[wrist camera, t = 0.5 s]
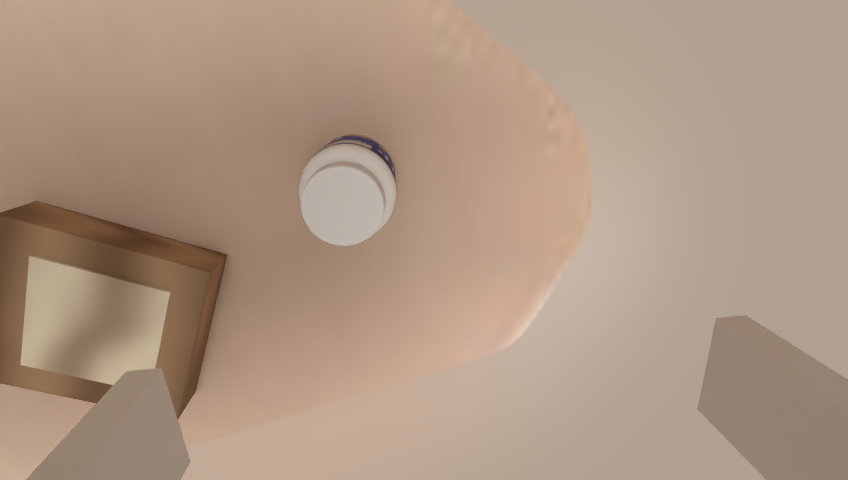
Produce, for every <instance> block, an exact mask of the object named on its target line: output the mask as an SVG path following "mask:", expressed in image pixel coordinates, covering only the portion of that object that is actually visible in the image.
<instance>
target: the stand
mask: <svg viewBox="0 0 848 480" xmlns="http://www.w3.org/2000/svg"><path fill="white" fill-rule="evenodd" d="M226 257H227V255H225V254H222V253H218V252H215V251H211V250H207V249H204V248H200V247H197V246H193V245H190V244H186V243H183V242H179V241H176V240H172V239H168V238H165V237H161V236H158V235H154V234H151V233H147V232H144V231H140V230H136V229H133V228H129V227H126V226H122V225H119V224H115V223H112V222H108V221H104V220H101V219H97V218H94V217H90V216H87V215H83V214H80V213H76V212H72V211H69V210H65V209H62V208H58V207H55V206H51V205H48V204H44V203H41V202H37V201H36V202H32V203H29V204H26V205H23V206H20V207H17V208H14V209H11V210H7V211H4V212H1V213H0V383H1V384H6V385H11V386H16V387H21V388H25V389H30V390H35V391H40V392H45V393H50V394H54V395H59V396H64V397H69V398H74V399H78V400H83V401H88V402H93V403H97V402H98V401H99V400H100V399H101V398H102V397H103V396H104V395H105V394H106V393H107V392H108V390H109V389H110V388H111V387H112V386H113V385H114V384H115V383H116V382H117V381H118V380H119V379H120V378H121V376H122V375H123V374H124V373H125V372H126V371H133V370H144V369H155V368H162V371H163V374H164V378H165V381H166V384H167V387H168V391H169V394H170V397H171V400H172V404H173V407H174V410H175V413H176V416H177V420H178V418H179V417H180V415H181V414H182V412H183V410H184V409H185V407H186V406H187V404H188V403H189V401H190V399H191V398H192V396H193V395H194V393H195V391H196V387H197V382H198V378H199V374H200V369H201V365H202V361H203V356H204V352H205V348H206V343H207V339H208V335H209V330H210V326H211V322H212V317H213V313H214V309H215V304H216V300H217V296H218V291H219V287H220V283H221V278H222V274H223V270H224V265H225V261H226Z"/></svg>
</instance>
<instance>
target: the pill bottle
mask: <svg viewBox="0 0 848 480" xmlns="http://www.w3.org/2000/svg"><path fill="white" fill-rule="evenodd" d="M298 193H299V202H300V205H301V213H302V216H303V219H304V221H305V223H306V225H307V227H308V228H309V229H310V231H311V232H312V233H313V234H314V235H315V236H317V237H318V238H319V239H321V240H323V241H325V242H327V243H329V244H332V245H337V246H350V245H355V244H358V243H361V242H363V241H365V240H367V239H368V238H370V237H371V236H372V235H373V234H375V233H376V232H377V231H379V230H380V229H381V228H382V227H383V226H384V225H385V224H386V223H387V222H388V220H389V219H390V217H391V215H392V213H393V210H394V207H395V203H396V196H397V189H396V180H395V170H394V165H393V162H392V160H391V158H390V156H389V154H388V153H387V151H386V150H385V149H384V148H383V147H382V146H381V145H380V144H379V143H377V142H376V141H374V140H373V139H371V138H368V137H365V136H361V135H346V136H342V137H339V138H337V139H335V140H333V141H331V142H330V143H329V144H327V145H326V146H325V147H324V148H323V149H321V150H320V151H319V152H318V153H317V154H315V155H314V156H313V157H312V158H311V159H310V161H309V162H308V163H307V165H306V166H305V168H304V170H303V172H302V175H301V178H300V182H299V190H298Z"/></svg>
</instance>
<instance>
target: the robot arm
mask: <svg viewBox="0 0 848 480" xmlns="http://www.w3.org/2000/svg"><path fill="white" fill-rule="evenodd" d="M698 410H699V411H700V412H701V413H702V414H703V415H704V416H705V417H706V418H707V419H708V420H709V422H710V423H711V424H713V426H714V427H715V428H716V429H717V430H718V431H719V432H720V433H721V434H722V435H723V436H724V437H725V438H726V439H727V440H728V441H729V442H730V443H731V444H732V445H733V446H734V447H735V448H736V449H737V450H738V451H739V452H740V453H741V455H742V456H743V457H744V458H745V459H746V460H747V461H748V462H749V463H750V464H751V465H752V466H753V467H754V468H755V469H756V470H757V471H758V472H759V473H760V474H761V475H762V476H763V477H764V478H765V479H766V480H848V379H846V378H844V377H843V376H841V375H840V374H838V373H836V372H835V371H833V370H832V369H830V368H828V367H827V366H825V365H824V364H822V363H820V362H819V361H817V360H816V359H814V358H813V357H811V356H809V355H808V354H806V353H804V352H803V351H801V350H800V349H798V348H797V347H795V346H794V345H792V344H791V343H789V342H787V341H786V340H784V339H783V338H781V337H779V336H778V335H776V334H775V333H773V332H772V331H770V330H768V329H767V328H765V327H764V326H762V325H760V324H759V323H757V322H756V321H754V320H752V319H751V318H749V317H748V316H746V315H745V316H734V317H722V318H716V321H715V326H714V331H713V336H712V340H711V346H710V350H709V355H708V360H707V366H706V370H705V375H704V379H703V385H702V389H701V394H700V399H699V404H698ZM189 463H190V459H189V455H188V452H187V449H186V446H185V442H184V439H183V436H182V433H181V429H180V426H179V423H178V420H177V416H176V413H175V410H174V407H173V404H172V400H171V397H170V394H169V391H168V387H167V384H166V381H165V378H164V374H163V371H162V368H155V369H144V370H133V371H126V372H125V373H124V374H123V375H122V376H121V378H120V379H119V380H118V381H117V382H116V383H115V384H114V385H113V386H112V387H111V388H110V389H109V390H108V392H107V393H106V394H105V395H104V396H103V397H102V398H101V399H100V400H99V401H98V402H97V403H96V405H95V406H94V407H93V408H92V409H91V410H90V411H89V412H88V413H87V414H86V415H85V416H84V418H83V419H82V420H81V421H80V422H79V423H78V424H77V425H76V426H75V427H74V428H73V429H72V431H71V432H70V433H69V434H68V435H67V436H66V437H65V438H64V439H63V440H62V441H61V442H60V443H59V445H58V446H57V447H56V448H55V449H54V450H53V451H52V452H51V453H50V454H49V455H48V456H47V458H46V459H45V460H44V461H43V462H42V463H41V464H40V465H39V466H38V467H37V468H36V469H35V471H34V472H33V473H32V474H31V475H30V476H29V477H28V478H27V479H26V480H181V478H182V476H183V474H184V472H185V470H186V468H187V467H188V465H189Z"/></svg>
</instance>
